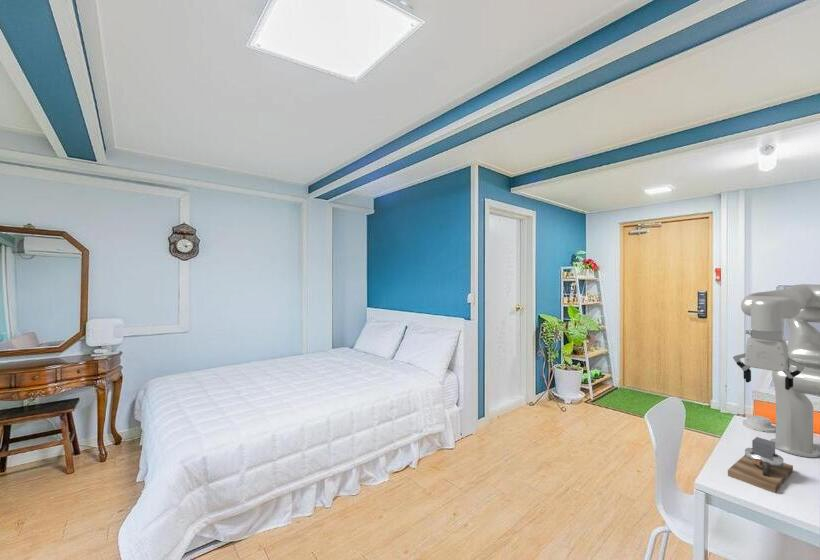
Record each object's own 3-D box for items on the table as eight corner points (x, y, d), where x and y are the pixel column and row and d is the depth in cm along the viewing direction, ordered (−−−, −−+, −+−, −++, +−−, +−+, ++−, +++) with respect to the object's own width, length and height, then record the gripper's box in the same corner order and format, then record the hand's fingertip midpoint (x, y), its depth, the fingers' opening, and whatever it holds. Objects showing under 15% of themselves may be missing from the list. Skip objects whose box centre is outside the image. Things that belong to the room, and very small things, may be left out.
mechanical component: (772, 426, 151) (741, 421, 157) (772, 416, 151) (741, 411, 157) (778, 435, 143) (744, 429, 149) (778, 424, 143) (744, 418, 149)
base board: (748, 457, 126) (748, 440, 126) (792, 471, 116) (793, 453, 116) (727, 475, 115) (727, 457, 114) (775, 493, 105) (775, 473, 105)
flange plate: (750, 449, 122) (750, 432, 122) (787, 461, 114) (787, 443, 114) (738, 458, 116) (738, 440, 116) (776, 471, 108) (776, 452, 108)
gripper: (729, 333, 123) (730, 381, 124) (802, 340, 108) (802, 394, 109) (736, 330, 127) (737, 376, 128) (807, 337, 112) (808, 389, 113)
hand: (767, 385), depth 118 cm, fingers open, 9 cm apart
